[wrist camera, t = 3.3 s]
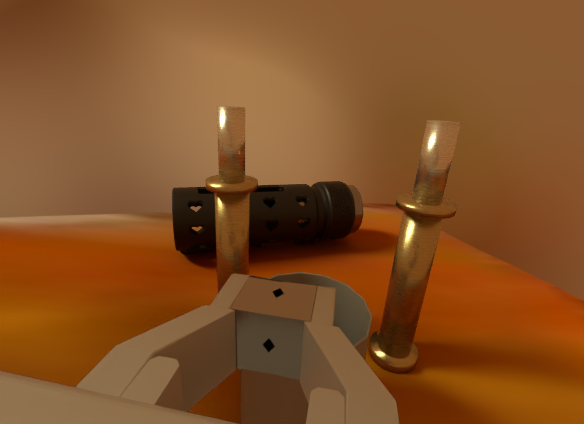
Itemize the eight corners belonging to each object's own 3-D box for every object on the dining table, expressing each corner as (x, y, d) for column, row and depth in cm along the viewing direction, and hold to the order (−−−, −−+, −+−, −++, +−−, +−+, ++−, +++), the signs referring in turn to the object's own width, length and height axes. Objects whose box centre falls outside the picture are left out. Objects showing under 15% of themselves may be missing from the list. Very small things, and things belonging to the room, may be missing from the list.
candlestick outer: (370, 368, 28) (417, 121, 20) (367, 334, 32) (406, 117, 24) (420, 377, 27) (489, 126, 20) (411, 341, 31) (466, 121, 24)
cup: (299, 354, 29) (307, 261, 25) (373, 421, 23) (397, 313, 20) (219, 409, 23) (215, 300, 20) (291, 513, 18) (303, 387, 14)
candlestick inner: (204, 337, 30) (192, 105, 23) (222, 309, 34) (216, 104, 27) (247, 345, 30) (249, 109, 22) (260, 315, 34) (265, 108, 26)
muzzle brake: (178, 240, 50) (173, 178, 46) (335, 228, 58) (342, 174, 55) (176, 270, 41) (170, 197, 38) (360, 251, 50) (370, 190, 46)
